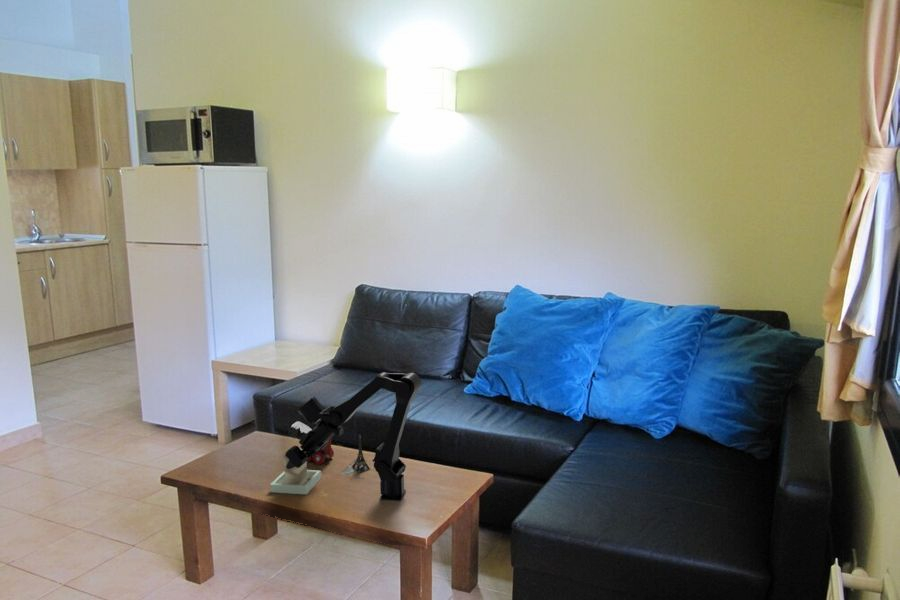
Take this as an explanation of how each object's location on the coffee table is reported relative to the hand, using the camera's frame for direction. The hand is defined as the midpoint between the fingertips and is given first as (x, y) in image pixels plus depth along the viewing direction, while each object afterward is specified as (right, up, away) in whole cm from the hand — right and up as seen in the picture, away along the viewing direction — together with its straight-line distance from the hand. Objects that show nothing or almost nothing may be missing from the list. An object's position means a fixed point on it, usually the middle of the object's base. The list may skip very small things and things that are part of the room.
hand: (291, 464), depth 214 cm
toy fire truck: (+4, -4, +21) cm, 22 cm away
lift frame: (+1, -7, +1) cm, 7 cm away
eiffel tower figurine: (+20, -5, +13) cm, 25 cm away
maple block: (+2, -7, +1) cm, 7 cm away
